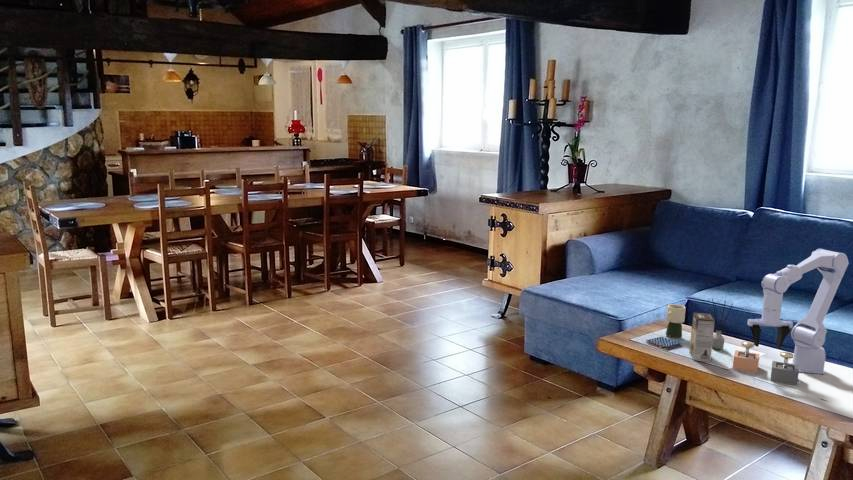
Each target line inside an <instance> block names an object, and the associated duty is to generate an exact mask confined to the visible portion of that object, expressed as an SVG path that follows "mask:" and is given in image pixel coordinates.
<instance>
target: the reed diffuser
mask: <svg viewBox="0 0 853 480" xmlns="http://www.w3.org/2000/svg"><path fill="white" fill-rule="evenodd" d="M711 299H712V300H711V301H712V306H713V313H714V320H715V323H716V324H715V325H716V329H715V334H713V341H712V348H714V349H717V350H718V349H720V350H723V349H724V346H725V345H724V344H725V337H724V336H722V330H723V327H724V325H725V323H726V320H727V319H728V316H729V314H730V312H731V310H732V307H733V304H734V303H731V305H730V308H729V310H728V312H727V315H726V317H725V319H724V322H723V317H724V314H725V313H724V312H725V308H726V301H727V300H724V305H723V310H722V314H721V321H720V325H719V323H718V321H719V320H718V313H717V305H716V302H714V299H713V298H711Z"/></svg>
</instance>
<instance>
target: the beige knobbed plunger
mask: <svg viewBox="0 0 853 480" xmlns="http://www.w3.org/2000/svg"><path fill="white" fill-rule="evenodd" d="M779 356H780V357H782V358H783V363H784V365H781V364H777V367H778V368H784V369H790V370H793V367H792V366H787V365H788V363H789V360H790V359H793V358H794V353H791V352H788V351H781V352H779Z"/></svg>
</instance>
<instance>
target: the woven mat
mask: <svg viewBox="0 0 853 480" xmlns="http://www.w3.org/2000/svg"><path fill="white" fill-rule="evenodd" d="M645 342H646V344H647V345H650V346H653V347H656V348H659V349H661V350H664V351H669V350H672V349H675V348H680V347H683V343H682V342H679V341H677V340H674V339H670V338H668V337H665V336H659V337H658V336H657V337H654V338H653V337H652V338H649V339H646V340H645Z"/></svg>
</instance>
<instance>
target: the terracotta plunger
mask: <svg viewBox="0 0 853 480" xmlns="http://www.w3.org/2000/svg"><path fill="white" fill-rule="evenodd" d="M741 346H742V347H744V348H745V351H744V352H745V354H742V353H740V354H739V356H741V357H747V358H753V359H754V355H749V352H750V349H751V348H754V347H755V345H754V342H752V341H744V340H743V341H742V342H741Z"/></svg>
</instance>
